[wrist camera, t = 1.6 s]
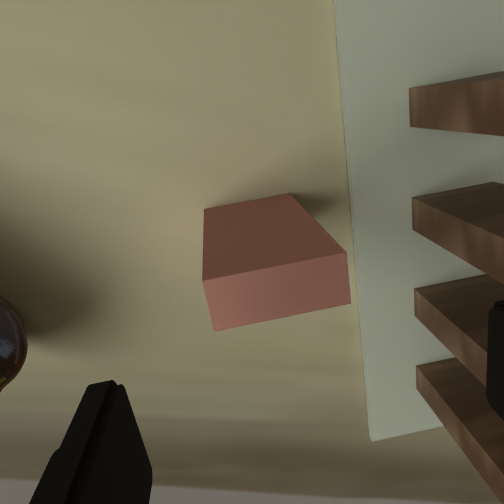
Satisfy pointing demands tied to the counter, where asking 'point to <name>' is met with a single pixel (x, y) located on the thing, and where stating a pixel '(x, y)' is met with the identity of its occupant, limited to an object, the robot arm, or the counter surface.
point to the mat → (407, 178)
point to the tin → (11, 344)
